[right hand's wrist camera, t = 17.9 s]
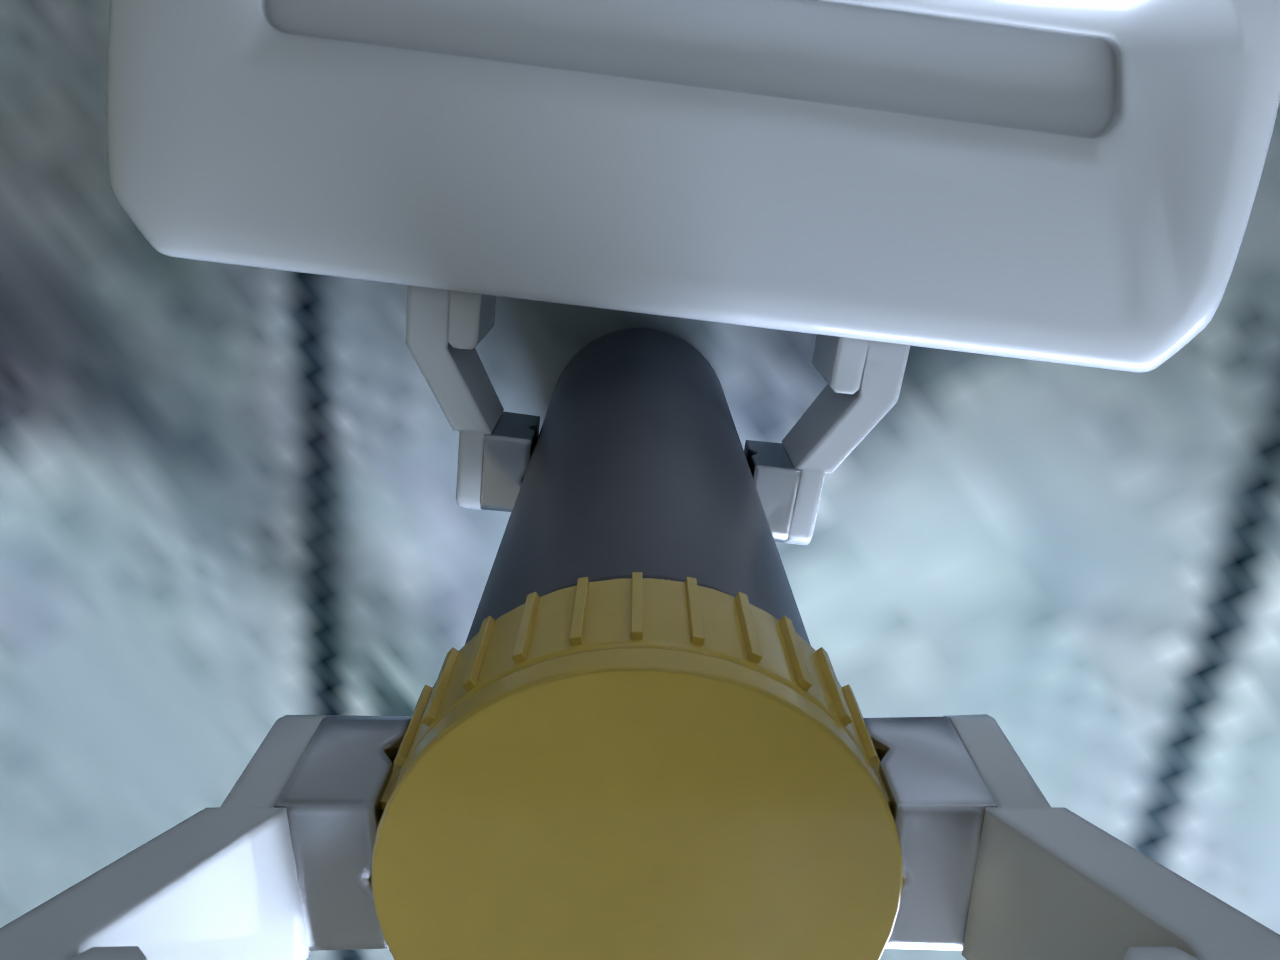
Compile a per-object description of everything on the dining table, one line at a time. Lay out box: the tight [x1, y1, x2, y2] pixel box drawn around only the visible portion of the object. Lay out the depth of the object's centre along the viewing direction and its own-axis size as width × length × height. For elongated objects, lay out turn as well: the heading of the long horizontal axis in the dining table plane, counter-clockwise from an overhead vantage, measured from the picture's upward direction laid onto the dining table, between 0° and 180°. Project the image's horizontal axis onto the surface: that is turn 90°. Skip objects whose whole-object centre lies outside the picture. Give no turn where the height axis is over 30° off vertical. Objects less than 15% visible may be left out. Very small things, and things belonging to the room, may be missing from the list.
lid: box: [371, 572, 903, 960], centre depth 9 cm, size 5×5×2 cm
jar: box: [465, 329, 811, 646], centre depth 17 cm, size 5×5×16 cm
